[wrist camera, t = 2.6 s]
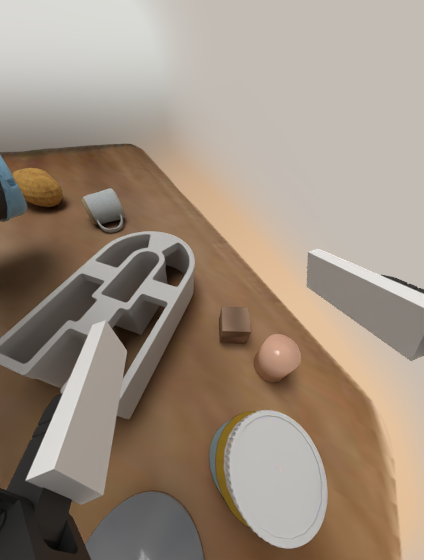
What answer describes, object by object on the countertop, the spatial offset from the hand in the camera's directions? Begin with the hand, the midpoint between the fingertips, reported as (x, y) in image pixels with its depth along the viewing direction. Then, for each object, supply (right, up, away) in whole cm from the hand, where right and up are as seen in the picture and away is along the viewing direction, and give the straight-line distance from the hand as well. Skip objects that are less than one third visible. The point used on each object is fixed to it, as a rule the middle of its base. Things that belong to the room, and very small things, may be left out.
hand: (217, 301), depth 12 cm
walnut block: (+3, -8, +22) cm, 24 cm away
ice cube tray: (-14, -5, +23) cm, 28 cm away
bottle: (+3, -20, +11) cm, 23 cm away
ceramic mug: (-28, +17, +41) cm, 52 cm away
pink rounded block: (+9, -12, +18) cm, 24 cm away
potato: (-48, +24, +44) cm, 70 cm away
